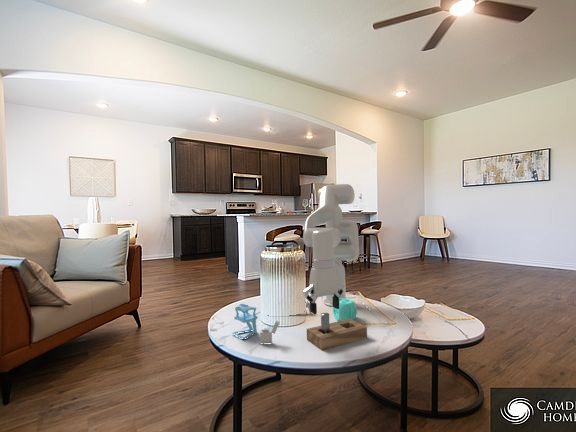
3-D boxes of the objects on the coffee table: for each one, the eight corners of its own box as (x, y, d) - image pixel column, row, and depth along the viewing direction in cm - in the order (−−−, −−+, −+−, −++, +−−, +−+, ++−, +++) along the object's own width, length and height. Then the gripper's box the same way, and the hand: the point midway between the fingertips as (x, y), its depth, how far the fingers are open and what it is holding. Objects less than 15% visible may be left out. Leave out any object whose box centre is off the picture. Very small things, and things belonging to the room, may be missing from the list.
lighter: (260, 344, 108) (259, 322, 108) (260, 342, 109) (260, 320, 109) (279, 344, 107) (279, 322, 107) (280, 342, 109) (279, 320, 109)
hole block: (306, 339, 111) (306, 328, 111) (350, 328, 119) (349, 318, 119) (321, 350, 102) (321, 338, 102) (367, 337, 111) (366, 327, 111)
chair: (260, 334, 117) (260, 303, 117) (243, 340, 111) (242, 308, 111) (249, 329, 122) (248, 299, 122) (231, 335, 117) (231, 304, 117)
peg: (320, 340, 109) (319, 313, 109) (326, 339, 110) (326, 312, 110) (324, 344, 106) (323, 316, 106) (331, 342, 108) (330, 314, 108)
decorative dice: (339, 323, 126) (339, 304, 126) (332, 316, 134) (332, 299, 134) (357, 321, 128) (356, 302, 128) (349, 315, 136) (348, 297, 135)
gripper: (336, 259, 115) (338, 303, 116) (297, 265, 108) (299, 311, 108) (349, 262, 109) (350, 309, 109) (308, 268, 101) (309, 318, 102)
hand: (325, 310), depth 109 cm, fingers open, 9 cm apart
